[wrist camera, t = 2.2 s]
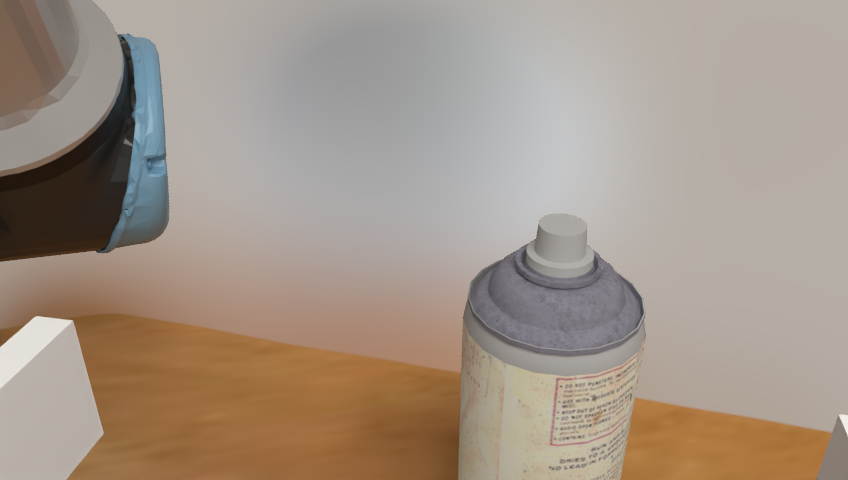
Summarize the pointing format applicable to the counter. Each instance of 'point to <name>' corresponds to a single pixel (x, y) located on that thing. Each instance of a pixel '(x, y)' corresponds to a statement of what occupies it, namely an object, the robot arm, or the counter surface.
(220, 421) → the counter surface
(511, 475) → the aerosol can
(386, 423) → the counter surface
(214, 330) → the counter surface
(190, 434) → the counter surface
